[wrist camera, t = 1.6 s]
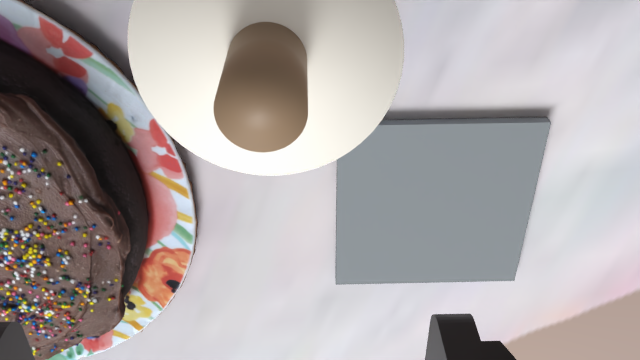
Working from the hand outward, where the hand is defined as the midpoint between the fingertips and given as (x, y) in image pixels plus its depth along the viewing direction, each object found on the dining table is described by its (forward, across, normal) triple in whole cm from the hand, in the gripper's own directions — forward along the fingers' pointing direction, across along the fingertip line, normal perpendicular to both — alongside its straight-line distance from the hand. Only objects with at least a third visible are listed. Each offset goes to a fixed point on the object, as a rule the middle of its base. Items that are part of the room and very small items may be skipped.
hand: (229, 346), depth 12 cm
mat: (+21, -9, +12) cm, 26 cm away
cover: (+16, 0, 0) cm, 16 cm away
